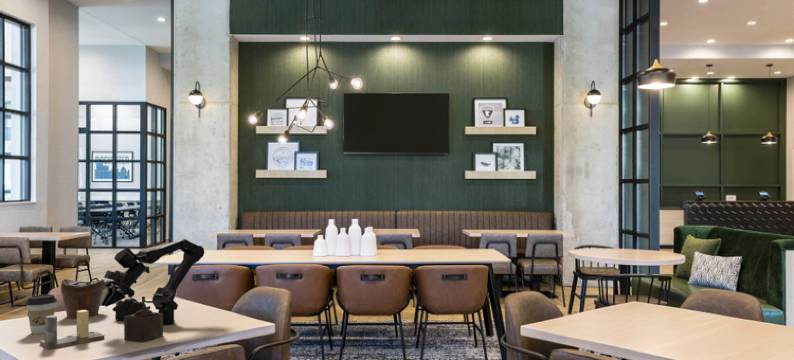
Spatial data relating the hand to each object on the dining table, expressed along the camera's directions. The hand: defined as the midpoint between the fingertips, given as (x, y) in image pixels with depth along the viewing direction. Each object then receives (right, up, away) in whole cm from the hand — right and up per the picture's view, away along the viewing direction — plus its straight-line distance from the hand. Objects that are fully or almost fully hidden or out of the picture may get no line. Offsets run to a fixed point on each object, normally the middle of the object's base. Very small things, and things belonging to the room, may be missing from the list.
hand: (103, 305), depth 225 cm
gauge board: (-8, -13, -7) cm, 17 cm away
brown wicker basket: (-31, -14, +41) cm, 54 cm away
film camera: (-3, -14, +31) cm, 34 cm away
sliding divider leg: (-6, -11, -5) cm, 13 cm away
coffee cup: (-31, -13, +9) cm, 35 cm away
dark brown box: (+19, -13, 0) cm, 23 cm away
